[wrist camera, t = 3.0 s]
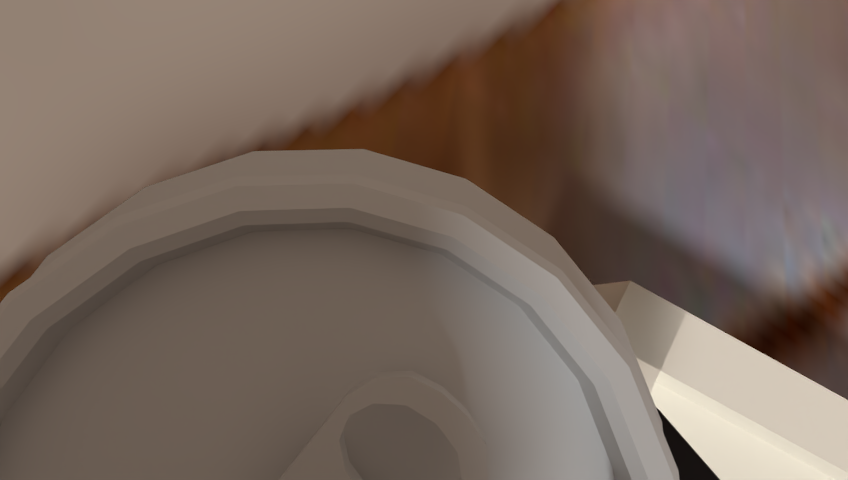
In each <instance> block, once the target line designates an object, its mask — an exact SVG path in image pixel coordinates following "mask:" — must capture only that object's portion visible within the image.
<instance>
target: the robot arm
mask: <svg viewBox="0 0 848 480" xmlns="http://www.w3.org/2000/svg"><path fill="white" fill-rule="evenodd" d="M657 411H658V413H659V416H660V418H661V421H662V426H663V433H664V436H665V438H666V441H667V443H668V446H669V448H670V451H671V453H672V456H673V458H674V461H675V463H676V466H677V468H678V471H679V480H720V479H719V478H718V477H717V476H716V474H715V473H714V472H713V471H712V470H711V469H710V467H709V466H708V465H707V464H706V463H705V462H704V461H703V459H702V458H701V457H700V456H699V455H698V454H697V453H696V451H695V450H694V449H693V448H692V447H691V446H690V445H689V443H688V442H687V441H686V440H685V439H684V438H683V437H682V435H681V434H680V433H679V432H678V431H677V430H676V428H675V427H674V426H673V425H672V424H671V423H670V422H669V420H668V419H667V418H666V417H665V416H664V415H663V414H662V412H661V411H660V410H659V409H658V408H657Z"/></svg>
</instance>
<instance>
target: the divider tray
mask: <svg viewBox="0 0 848 480" xmlns="http://www.w3.org/2000/svg"><path fill="white" fill-rule="evenodd" d="M593 286H594V288H595V289H596V290H597V291H598V293H599V294H600V295H601V296H602V298H603V299H604V300H605V301H606V302H607V304H608V305H609V306H610V307H611V309H612V310H613V311H614V312H615V314H616V315H617V316H618V317H619V319H620V320H621V321H622V324H623V326H624V329H625V331H626V334H627V336H628V339H629V341H630V344H631V346H632V349H633V351H634V354H635V356H636V359H637V361H638V364H639V366H640V369H641V371H642V374H643V376H644V379H645V381H646V384H647V386H648V389H649V391H650V394H651V396H652V398H653V401H654V403H655V406H656V408H658V409H659V410H660V411H661V412H662V414H663V415H664V416H665V417H666V418H667V419H668V420H669V422H670V423H671V424H672V425H673V426H674V427H675V428H676V430H677V431H678V432H679V433H680V434H681V435H682V437H683V438H684V439H685V440H686V441H687V442H688V443H689V445H690V446H691V447H692V448H693V449H694V450H695V451H696V453H697V454H698V455H699V456H700V457H701V458H702V459H703V461H704V462H705V463H706V464H707V465H708V466H709V467H710V469H711V470H712V471H713V472H714V473H715V474H716V476H717V477H718V478H719V479H720V480H848V400H847V399H845V398H843V397H841V396H839V395H838V394H836V393H834V392H832V391H830V390H828V389H827V388H825V387H823V386H821V385H819V384H818V383H816V382H814V381H812V380H810V379H808V378H807V377H805V376H803V375H801V374H799V373H798V372H796V371H794V370H792V369H790V368H788V367H787V366H785V365H783V364H781V363H779V362H778V361H776V360H774V359H772V358H770V357H768V356H767V355H765V354H763V353H761V352H759V351H758V350H756V349H754V348H752V347H750V346H748V345H747V344H745V343H743V342H741V341H739V340H738V339H736V338H734V337H732V336H730V335H728V334H727V333H725V332H723V331H721V330H719V329H718V328H716V327H714V326H712V325H710V324H708V323H707V322H705V321H703V320H701V319H699V318H698V317H696V316H694V315H692V314H690V313H688V312H687V311H685V310H683V309H681V308H679V307H678V306H676V305H674V304H672V303H670V302H668V301H667V300H665V299H663V298H661V297H659V296H658V295H656V294H654V293H652V292H650V291H648V290H647V289H645V288H643V287H641V286H639V285H638V284H636V283H634V282H632V281H623V282H615V283H606V284H598V285H593Z"/></svg>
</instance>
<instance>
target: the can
mask: <svg viewBox="0 0 848 480" xmlns="http://www.w3.org/2000/svg"><path fill="white" fill-rule="evenodd" d="M0 480H679V471H678V468H677V466H676V463H675V461H674V458H673V456H672V453H671V451H670V448H669V446H668V443H667V441H666V438H665V436H664V433H663V426H662V421H661V418H660V416H659V413H658V411H657V408H656V406H655V403H654V401H653V398H652V396H651V394H650V391H649V389H648V386H647V384H646V381H645V379H644V376H643V374H642V371H641V369H640V366H639V364H638V361H637V359H636V356H635V354H634V351H633V349H632V346H631V344H630V341H629V339H628V336H627V334H626V331H625V329H624V326H623V324H622V321H621V320H620V319H619V317H618V316H617V315H616V314H615V312H614V311H613V310H612V309H611V307H610V306H609V305H608V304H607V302H606V301H605V300H604V299H603V298H602V296H601V295H600V294H599V293H598V291H597V290H596V289H595V288H594V286H593V285H592V284H591V283H590V281H589V280H588V279H587V278H586V276H585V275H584V274H583V273H582V272H581V270H580V269H579V268H578V267H577V265H576V264H575V263H574V262H573V260H572V259H571V258H570V257H569V255H568V254H567V253H566V252H565V250H564V249H563V248H562V247H561V245H560V244H559V243H558V242H557V241H556V239H555V238H554V237H552V236H551V235H549V234H548V233H546V232H545V231H543V230H542V229H541V228H539V227H538V226H536V225H535V224H533V223H532V222H530V221H529V220H527V219H526V218H524V217H523V216H521V215H520V214H518V213H517V212H515V211H514V210H512V209H511V208H509V207H508V206H506V205H505V204H503V203H502V202H500V201H499V200H497V199H496V198H494V197H493V196H491V195H490V194H488V193H487V192H485V191H484V190H482V189H481V188H479V187H478V186H476V185H475V184H473V183H472V182H470V181H469V180H467V179H465V178H462V177H458V176H455V175H451V174H448V173H444V172H441V171H438V170H434V169H431V168H427V167H424V166H420V165H417V164H414V163H410V162H407V161H403V160H400V159H396V158H393V157H390V156H386V155H383V154H379V153H376V152H372V151H369V150H366V149H335V150H285V151H253V152H250V153H247V154H244V155H241V156H238V157H234V158H231V159H228V160H225V161H222V162H219V163H216V164H213V165H210V166H207V167H204V168H201V169H198V170H195V171H192V172H189V173H186V174H183V175H180V176H177V177H174V178H171V179H168V180H165V181H162V182H159V183H156V184H153V185H150V186H147V187H144V188H143V189H142V190H140V191H139V192H137V193H136V194H134V195H133V196H132V197H130V198H129V199H127V200H126V201H125V202H123V203H122V204H120V205H119V206H117V207H116V208H115V209H113V210H112V211H110V212H109V213H108V214H106V215H105V216H103V217H102V218H100V219H99V220H98V221H96V222H95V223H93V224H92V225H91V226H89V227H88V228H86V229H85V230H83V231H82V232H81V233H79V234H78V235H76V236H75V237H74V238H72V239H71V240H69V241H68V242H66V243H65V244H64V245H62V246H61V247H59V248H58V249H56V250H55V251H54V252H52V253H51V254H49V255H48V256H47V257H46V258H45V259H44V261H43V262H42V263H41V265H40V266H39V267H38V268H37V270H36V271H35V272H34V273H33V275H32V276H31V277H30V278H29V279H27V280H26V281H25V282H23V283H22V284H20V285H19V286H18V287H16V288H15V289H13V290H12V291H10V292H9V293H8V294H7V295H6V296H5V298H4V299H3V300H2V302H1V303H0Z"/></svg>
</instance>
